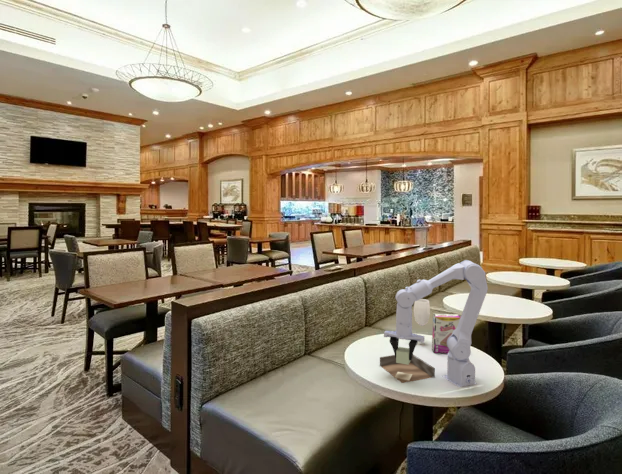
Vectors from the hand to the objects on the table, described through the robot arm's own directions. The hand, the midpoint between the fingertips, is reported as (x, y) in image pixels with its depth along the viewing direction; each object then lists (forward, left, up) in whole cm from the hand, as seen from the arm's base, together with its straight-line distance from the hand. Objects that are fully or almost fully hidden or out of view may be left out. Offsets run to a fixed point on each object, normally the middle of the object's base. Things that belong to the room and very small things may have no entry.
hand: (403, 358), depth 141 cm
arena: (+3, -4, -8) cm, 9 cm away
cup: (+26, -27, -8) cm, 38 cm away
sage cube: (0, 0, -1) cm, 1 cm away
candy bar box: (+15, -32, -8) cm, 36 cm away
